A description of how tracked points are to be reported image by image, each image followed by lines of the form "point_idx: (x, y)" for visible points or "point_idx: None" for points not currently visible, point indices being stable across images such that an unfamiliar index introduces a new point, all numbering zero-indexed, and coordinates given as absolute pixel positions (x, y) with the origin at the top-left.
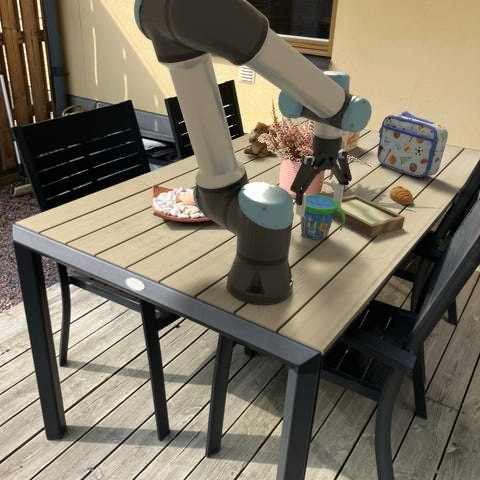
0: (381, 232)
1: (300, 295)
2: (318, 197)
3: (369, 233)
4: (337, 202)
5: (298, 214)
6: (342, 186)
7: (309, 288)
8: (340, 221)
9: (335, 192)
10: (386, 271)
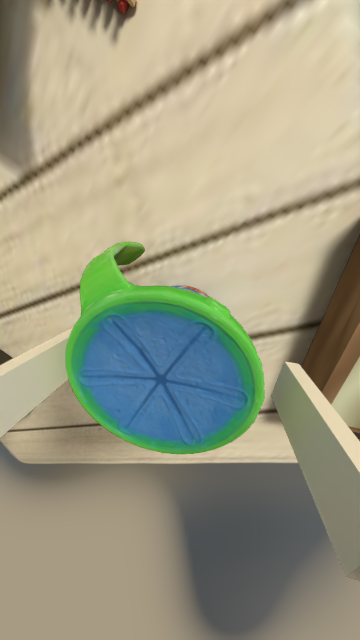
0: None
1: (38, 418)
2: (213, 347)
3: None
4: (282, 401)
5: None
6: (346, 565)
7: (56, 418)
8: (327, 310)
9: (318, 431)
10: (183, 461)
